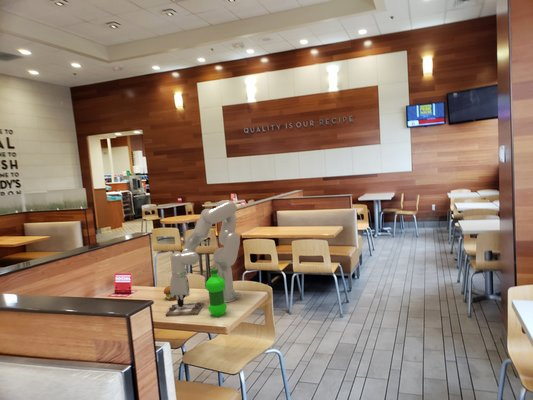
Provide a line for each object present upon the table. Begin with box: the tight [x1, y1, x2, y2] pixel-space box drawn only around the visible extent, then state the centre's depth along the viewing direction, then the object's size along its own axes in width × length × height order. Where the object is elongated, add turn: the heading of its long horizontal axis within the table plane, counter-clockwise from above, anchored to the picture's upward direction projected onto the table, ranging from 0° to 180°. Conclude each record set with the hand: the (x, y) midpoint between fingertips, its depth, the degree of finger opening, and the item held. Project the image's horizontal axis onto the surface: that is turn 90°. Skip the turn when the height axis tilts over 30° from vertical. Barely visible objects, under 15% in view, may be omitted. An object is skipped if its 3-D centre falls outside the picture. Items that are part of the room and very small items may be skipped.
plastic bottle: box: [205, 268, 228, 317], centre depth 211 cm, size 10×10×25 cm
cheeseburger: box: [163, 285, 181, 301], centre depth 246 cm, size 10×11×10 cm
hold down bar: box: [171, 304, 195, 308], centre depth 222 cm, size 15×2×1 cm, turn 85°
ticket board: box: [164, 301, 205, 318], centre depth 222 cm, size 18×16×3 cm
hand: (180, 306), depth 222 cm, fingers closed
